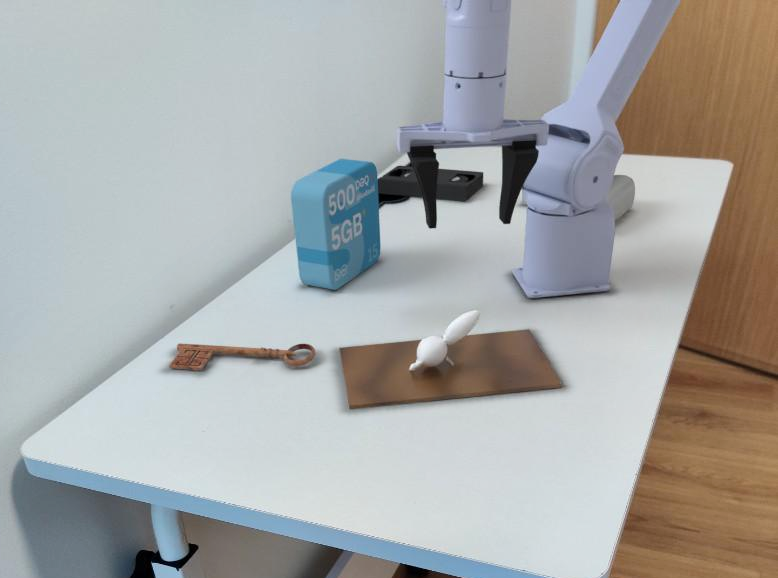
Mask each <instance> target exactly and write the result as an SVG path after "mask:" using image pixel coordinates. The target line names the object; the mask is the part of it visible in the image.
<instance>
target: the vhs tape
mask: <svg viewBox="0 0 778 578" xmlns="http://www.w3.org/2000/svg"><path fill="white" fill-rule="evenodd" d="M377 179H378V194H380V195H392V196H403V197H413V198H415V197H416V198H422V194H421V190H420V187H419V184H418V180H417V178H416V175H415V172H414V169H413V167H412V165H397V166H395V167H393V168H392V169H391V170H389V171H388V172H386V173H385V174H383V175H382V176H379V177H377ZM483 187H484V172H483V171H474V170H462V169H448V168H439V169H438V178H437V191H436V200H444V201H445V200H446V201H456V202H465V203H466V202H467V201H468V200H469V199H470V198H472V197H473V196H474V195H475V194H476V193H477V192H479V190H481V189H482V188H483Z"/></svg>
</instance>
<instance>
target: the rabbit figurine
mask: <svg viewBox="0 0 778 578" xmlns="http://www.w3.org/2000/svg"><path fill="white" fill-rule="evenodd" d="M480 316H481V311H480V310H478V309H475V310H470V311H467V312H464V313H462V314H460V315H459V316H458V317H456V318H455V319H454V320H452V321H451V323H450V324H448V326H447V327H446V328H445V331H444V332H443V335H442V337H441V336H439V335H430V336H427V337H424V338H422V339H420V340H421V342H420V343H419V345H418V348H417V360H416V363H414V364H411V366H410V368H409V371H415V370H416V369H417V368H419V367H420V366H421V365H424V366H429V367H431V366H436V365H439V364H440V363H441V362H442V361H443V360H444V358H445V357H446V354H447V345H448V346H449V345H452V344H454V343H456V342H457V341H458V340H460V339H461V338H463V337H465V336H466V335H469V333H470V332H471V331H472V330H473V329H474V327H475V326H477V323H478V321H479V318H480ZM446 360H447V361H448V362H449V363H450V364H452V365H453V364H454V363H453V362H452V361H451V360H450V359H449V358H448V357H447V359H446Z"/></svg>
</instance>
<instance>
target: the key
mask: <svg viewBox="0 0 778 578" xmlns="http://www.w3.org/2000/svg"><path fill="white" fill-rule="evenodd" d="M176 350H177V352H178V353H177V354H176V356H175V357H174V359H172V361H171V362H170V364H169V365H168V368H169V369H181V370H183V369H184V370H195V371H202V370H203V369H204V367H205V365H207V363H208V361H209V360H210V359H211V357H212V356H213V354H221V355H222V354H224V355H235V356H237V355H239V356H254V357H255V356H256V357H260V358H266V357H267V358H272V357H274V358H283V359H284V361H285V363H286V364H287V365H288V366H291V367H301V366H305V365H307V364H309V363H310V362H311V361H313V359H314V358H315V356H316V349H315V347H314V346H313V345H311V344H309V343H297V344H294V345H292V346H290V347H289V348H288V349H279V348H274V349H273V348H270V347H269V348H266V347H247V346H245V347H244V346H228V345H211V344H198V343H197V344H196V343H195V344H193V343H181V342H179V343H178V344H177V345H176ZM300 350H308V351H310V352H311V353H310V354H309V355H308V356H307V357H305V358H303V359H297V360H294V359H290V358H293V357H295V356H297V353H296V351H300Z"/></svg>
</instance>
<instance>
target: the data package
mask: <svg viewBox="0 0 778 578" xmlns="http://www.w3.org/2000/svg"><path fill="white" fill-rule="evenodd" d="M290 201H291V202H290V203H291V212H292V222H293V230H294V239H295V248H296V258H297V267H298V275H299V280H300V281H301V283H302V284H304V285H306V286H312V287H317V288H322V289H328V290H334V291H337V290H338V289H340V288H341V287H343V286H344V285H346V284H348V283H349V282H350V281H351V280H353V279H354V278H356V277H357V276H358V275H360V274H362V273H363V272H364V271H366V270H367V269H368V268H370V267H372V266H373V265H374V264H375V263H377V261H378V260H379V258H380V255H381V249H382V248H381V247H382V246H381V245H382V244H381V226H380V225H381V224H380V205H379V203H380V202H379V193H378V170H377V166H376V164H375V163H374V162H373V161H366V160H357V159H347V158H339V159H337V160H334V161H333V162H332V161H331V163H329V164H326V165H325V166H322V167H321V168H319V169H316V170H314V171H313V172H311V173H309V174H307V175H305V176H303V177H301V178H299V179H298V180H296V181H294V183H293V185H292V187H291V192H290Z"/></svg>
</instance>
